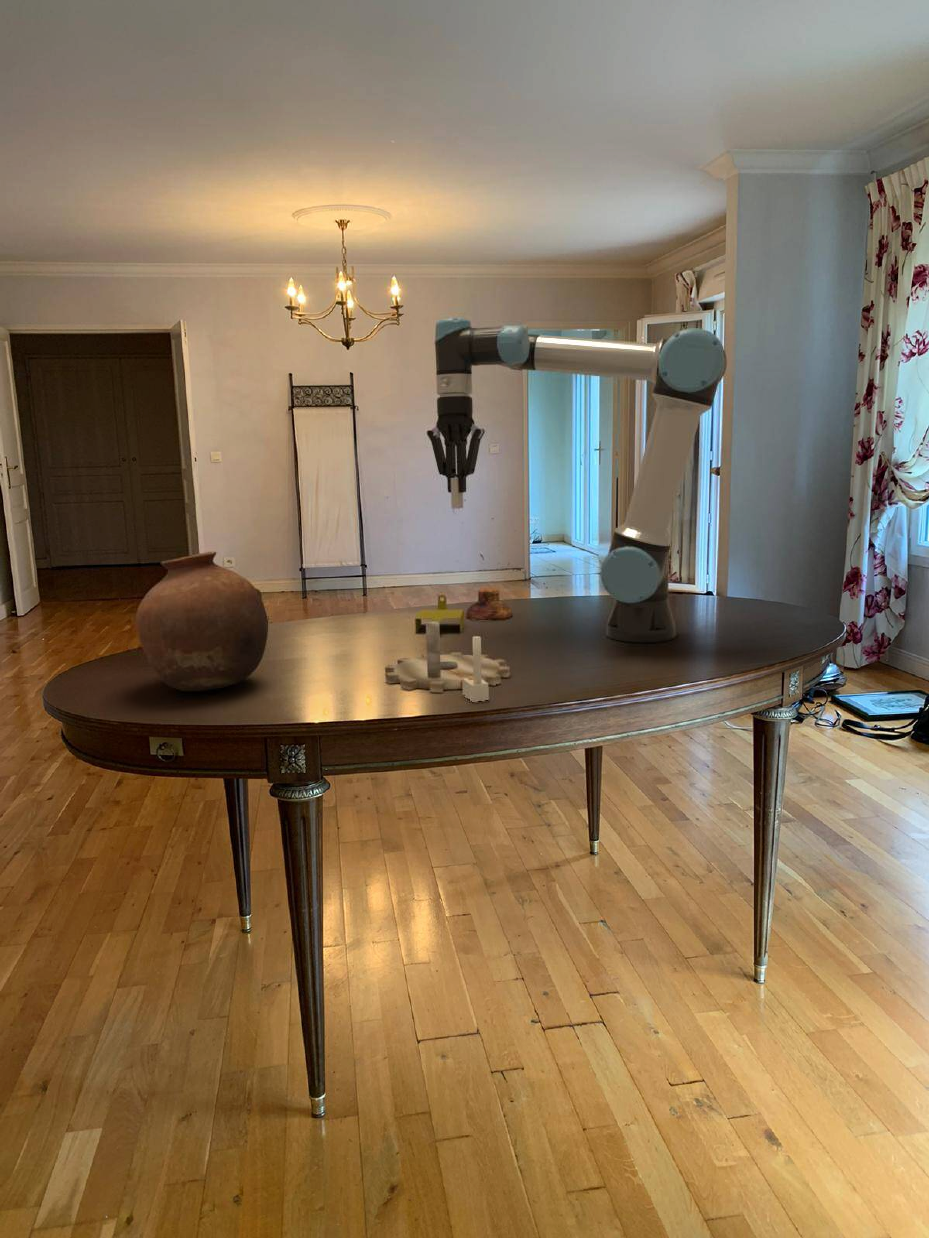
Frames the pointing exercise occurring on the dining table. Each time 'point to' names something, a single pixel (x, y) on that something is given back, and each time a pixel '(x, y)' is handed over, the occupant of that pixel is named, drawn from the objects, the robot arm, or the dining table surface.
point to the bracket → (440, 614)
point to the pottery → (202, 625)
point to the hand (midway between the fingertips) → (457, 508)
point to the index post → (476, 677)
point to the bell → (489, 607)
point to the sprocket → (442, 667)
